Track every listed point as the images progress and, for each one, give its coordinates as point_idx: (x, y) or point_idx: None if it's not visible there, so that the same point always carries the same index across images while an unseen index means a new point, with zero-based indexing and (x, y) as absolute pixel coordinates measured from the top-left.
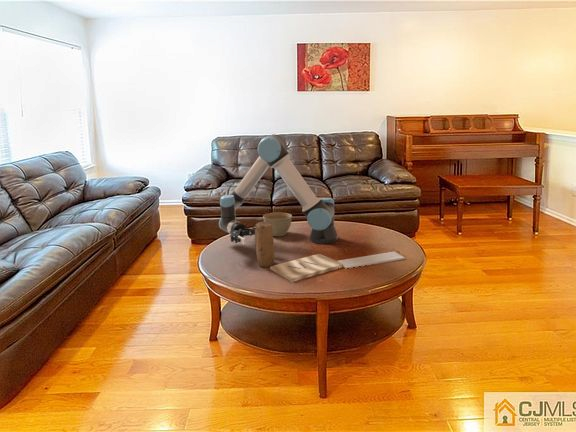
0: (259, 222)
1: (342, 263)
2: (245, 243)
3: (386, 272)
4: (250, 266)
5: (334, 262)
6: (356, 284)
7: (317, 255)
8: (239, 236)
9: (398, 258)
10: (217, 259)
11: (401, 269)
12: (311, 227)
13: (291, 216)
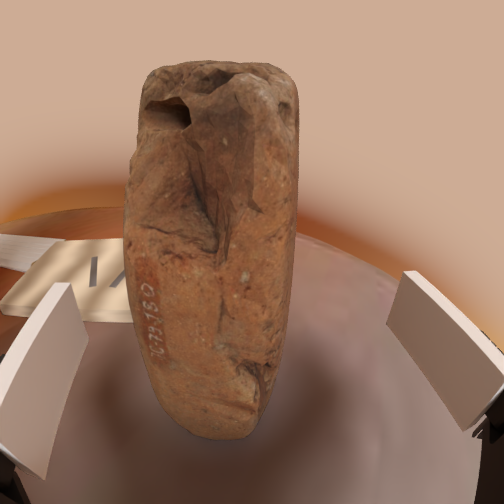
0: (246, 63)
1: (43, 252)
2: (390, 314)
3: (50, 220)
4: (322, 387)
5: (54, 251)
6: None
7: (16, 297)
8: (492, 353)
9: None
10: None
11: (29, 220)
12: None
13: None
